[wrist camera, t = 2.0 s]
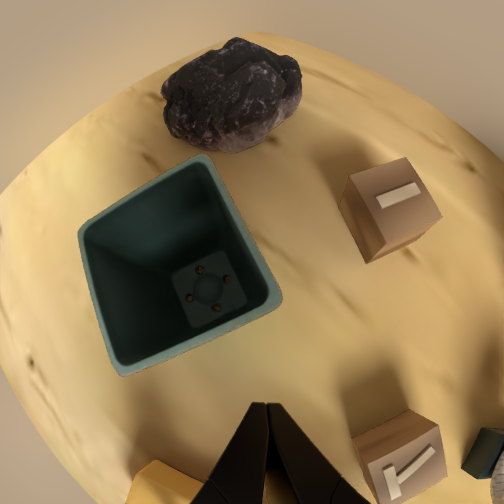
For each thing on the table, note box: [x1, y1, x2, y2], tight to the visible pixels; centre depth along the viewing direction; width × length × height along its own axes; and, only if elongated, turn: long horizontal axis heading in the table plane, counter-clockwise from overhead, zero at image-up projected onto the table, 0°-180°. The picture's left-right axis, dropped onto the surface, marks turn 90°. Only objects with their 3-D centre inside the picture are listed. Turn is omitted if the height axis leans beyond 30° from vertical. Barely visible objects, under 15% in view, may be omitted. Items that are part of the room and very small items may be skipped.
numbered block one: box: [339, 157, 442, 264], centre depth 18 cm, size 5×5×5 cm
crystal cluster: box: [161, 37, 302, 154], centre depth 22 cm, size 13×14×10 cm
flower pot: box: [78, 153, 283, 376], centre depth 17 cm, size 9×9×9 cm
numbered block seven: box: [351, 409, 448, 504], centre depth 13 cm, size 5×5×5 cm
